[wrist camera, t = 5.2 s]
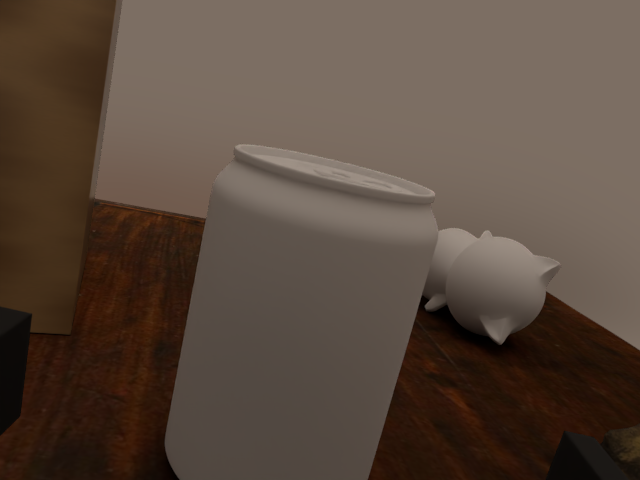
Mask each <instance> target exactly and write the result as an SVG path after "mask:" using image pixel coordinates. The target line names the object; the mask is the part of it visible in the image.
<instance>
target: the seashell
mask: <svg viewBox="0 0 640 480" xmlns="http://www.w3.org/2000/svg"><path fill="white" fill-rule="evenodd" d="M600 445H601V447H602V448H603V449H604V450H605V451H606V453H607V454H608V455H609V456H610V457H611V459H612V460H613V461H614V462H615V463H616V465H617V466H618V467H619V468H620V469H621V471H622V472H623V473H624V474H625V475H626V477H627V478H628V479H629V480H640V423H639V424H638V425H636V426H634V427H631V428H625V429H618V430H610V431H608V432H607V433H606V434H605V435H604V439H603V442H602V443H601V444H600Z"/></svg>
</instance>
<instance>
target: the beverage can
mask: <svg viewBox="0 0 640 480" xmlns="http://www.w3.org/2000/svg"><path fill="white" fill-rule="evenodd" d="M234 155H235V158H234V159H233V160H232V161H231V163H230V164H228V165H227V166H226V167H225V168H224V169H223V170H222V171H221V172H220V173H219V174H218V176H217V177H216V179H215V181H214V183H213V186H212V191H211V196H210V201H209V206H208V212H207V217H206V222H205V228H204V233H203V238H202V243H201V249H200V254H199V259H198V265H197V270H196V275H195V281H194V286H193V291H192V296H191V302H190V307H189V312H188V318H187V323H186V328H185V334H184V339H183V344H182V350H181V355H180V360H179V365H178V371H177V376H176V381H175V387H174V392H173V397H172V403H171V408H170V413H169V418H168V424H167V429H166V435H165V450H166V454H167V458H168V461H169V463H170V465H171V467H172V469H173V471H174V472H175V474H176V475H177V477H178V478H179V479H180V480H368V477H369V473H370V470H371V467H372V463H373V460H374V456H375V453H376V450H377V446H378V443H379V439H380V436H381V433H382V429H383V426H384V422H385V419H386V415H387V412H388V409H389V405H390V402H391V398H392V395H393V392H394V388H395V385H396V381H397V378H398V374H399V371H400V368H401V364H402V361H403V357H404V354H405V351H406V347H407V344H408V340H409V337H410V333H411V330H412V327H413V323H414V320H415V316H416V313H417V310H418V306H419V303H420V299H421V296H422V292H423V289H424V286H425V282H426V279H427V275H428V272H429V269H430V265H431V262H432V258H433V255H434V251H435V248H436V245H437V241H438V227H437V223H436V220H435V217H434V214H433V212H432V208H431V203H433V202H434V199H435V193H434V192H433V191H432V190H430V189H428V188H426V187H424V186H421V185H418V184H416V183H413V182H411V181H408V180H405V179H402V178H399V177H395V176H392V175H388V174H385V173H382V172H379V171H375V170H372V169H368V168H364V167H360V166H357V165H353V164H348V163H345V162H340V161H336V160H332V159H328V158H324V157H319V156H315V155H310V154H305V153H300V152H295V151H290V150H285V149H279V148H273V147H265V146H259V145H247V144H243V145H242V144H241V145H236V146H235V148H234Z"/></svg>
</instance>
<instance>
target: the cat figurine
mask: <svg viewBox="0 0 640 480" xmlns="http://www.w3.org/2000/svg"><path fill="white" fill-rule="evenodd" d="M560 268H561V265H560V263H559V262H558V261H556V260H553V259H552V258H548V257H543V256H536V255H533V254H532V253H531V252H530V251H529V250H528V249H527V248H526V247H525V246H523V245H522V244H520V243H519V242H517V241H515V240H512V239H509V238H505V237H493V236H492V234H491V233H490V231H484V233H483V234H482V235H481V237H480V239H479V238H476V237H474V236H473V235H472V234H470V233H468V232H467V231H464V230H462V229H458V228H448V229H444V230H441V231H438V241H437V245H436V248H435V251H434V255H433V258H432V262H431V265H430V269H429V272H428V275H427V279H426V282H425V286H424V289H423V292H422V295H423V296H424V297H426V298H427V299H429V300H430V301H429V302H427V304H426V305H425V308H426V310H427V311H428V312H434V311H436V310H438V309H440V308H442V307H444V306H445V305H447V304H448V307H449V310H450V312H451V314H452V315H453V317H454V318H455V320H456V321H457V322H458V323H459V324H460V325H461V326H462V327H464V328H465V329H467V330H468V331H470V332H472V333H475V334H478V335H482V336H489V337H490V338H491V339H492V340H493V341H494V342H495V343H496V344H498V345H501V344H502V343H503V342H504V341H505V339H506V338H507V336H508V335H509V334H512V333H515V332H517V331H519V330H521V329H523V328H525V327H526V326H527V325H529V324H530V323H531V322H532V321H533V320H534V319H535V318H536V317H537V315H538V314H539V312H540V311H541V309H542V306H543V304H544V300H545V295H546V287H547V285H548V284H549V282H550V280H551V279H552V278H553V277H554V276H555V274H556V273H557V272H558V271H559V270H560Z"/></svg>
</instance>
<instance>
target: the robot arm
mask: <svg viewBox="0 0 640 480" xmlns="http://www.w3.org/2000/svg"><path fill="white" fill-rule="evenodd" d="M31 321H32V313H27V312H23V311H18V310H14V309H9V308H5V307H0V435H1V434H2V433H3V432H4V431H5V430H6V429H7V428H8V427H10V426H11V425H12V424H13V423H14V422H15V421H16V420H17V419H18V418H19V417H20V413H21V405H22V397H23V388H24V380H25V371H26V363H27V354H28V346H29V338H30V329H31ZM546 480H629V479H628V478H627V477H626V475H625V474H624V473H623V472H622V471H621V469H620V468H619V467H618V466H617V465H616V463H615V462H614V461H613V460H612V459H611V457H610V456H609V455H608V454H607V453H606V451H605V450H604V449H603V448H602V447H601V445H600V444H599V443H598V442H597V441H596V439H595V438H594V437H590V436H585V435H581V434H576V433H572V432H567V431H564V433H563V436H562V438H561V441H560V443H559V446H558V449H557V451H556V454H555V456H554V459H553V462H552V464H551V467H550V470H549V472H548V475H547V477H546Z"/></svg>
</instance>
